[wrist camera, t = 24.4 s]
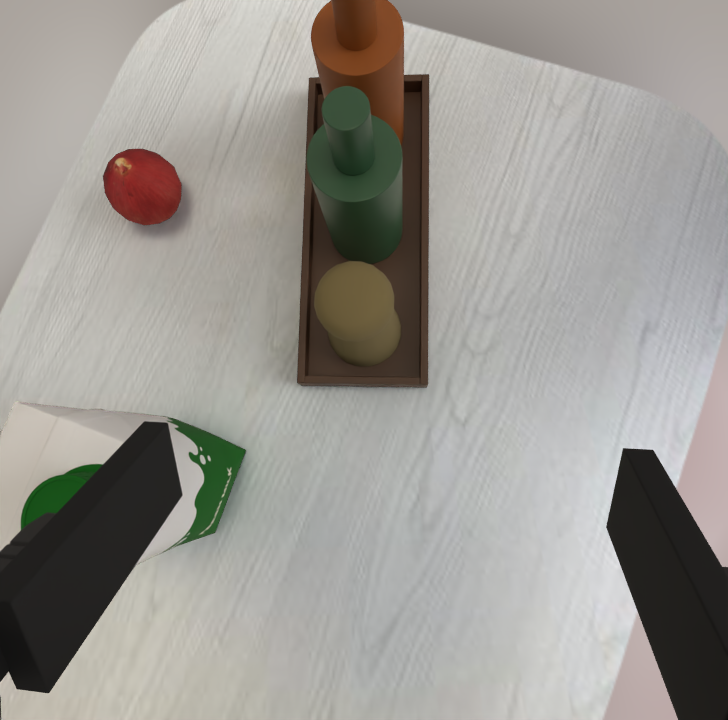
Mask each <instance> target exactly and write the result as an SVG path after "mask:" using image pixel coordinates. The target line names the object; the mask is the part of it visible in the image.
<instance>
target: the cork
mask: <svg viewBox="0 0 728 720" xmlns="http://www.w3.org/2000/svg"><path fill="white" fill-rule="evenodd" d="M314 307H315V311H316V314H317V318H318V319H319V321H320V322H321V324H322V325H323V327H324V328H325V329H326V330H327V331H328V337H329V341H330V345H331V347H332V348H333V350H334V351H335V353H336V354H337V356H339V357H340V358H341V359H342V360H344V361H345V362H346V363H349V364H352V365H355V366H362V367H369V366H373V365H377V364H380V363H381V362H383V361H385V360H386V359H388V358H389V357H390V356H391V355H392V354H393V352H394V351H395V350H396V348H397V346H398V344H399V341H400V338H401V323H400V319H399V316H398V314H397V312H396V311H395V309H394V293H393V289H392V286H391V283H390V282H389V280H388V279H387V277H386V276H385V274H384V273H382V272H381V271H380V270H378V269H377V268H376V267H374V266H373V265H370V264H368V263H365V262H362V261H348V262H344V263H341V264H337V265H336V266H334V267H333V268H331V269H330V270H328V271H327V272H326V273H325V275H324V276H323V277H322V278H321V280H320V281H319V284H318V286H317V289H316V291H315V300H314Z"/></svg>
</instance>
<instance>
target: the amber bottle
mask: <svg viewBox="0 0 728 720" xmlns="http://www.w3.org/2000/svg"><path fill="white" fill-rule="evenodd" d="M311 42H312V47H313V52H314V56H315V60H316V65H317V69H318V73H319V78H320V82H321V87H322V91H323V95H324V99H325V97H326V96H327V95H328V94H329V93H330V92H331V91H332V90H334V89H336V88H339V87H342V86H352V87H355V88H358V89H360V90H361V91H362V92H363V93H364V94H365V95H366V96H367V98H368V100H369V102H370V110H371V115H373V116H376V117H378V118H380V119H382V120H383V121H385V122H386V123H387V124H388V125H389V126H390V127H391V128H392V129H393V130H394V132H395V133H396V135H397V136H398V138H399V141H400V144H401V145H402V142H403V129H404V27H403V22H402V19H401V16H400V14H399V13H398V11H397V10H396V8H395V7H394V6H393V5H392V4H391V3H390V2H389V1H388V0H331V1H330V2H329V3H327V4H326V5H325V6H324V7H323V8H322V9H321V11H320V12H319V13H318V15H317V16H316V18H315V21H314V23H313V26H312V31H311Z"/></svg>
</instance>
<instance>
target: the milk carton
mask: <svg viewBox="0 0 728 720" xmlns="http://www.w3.org/2000/svg"><path fill="white" fill-rule="evenodd" d="M144 421H149V422H166V423H168V426H169V431H170V435H171V440H172V445H173V450H174V455H175V460H176V465H177V470H178V474H179V479H180V484H181V489H182V494H183V496H182V497H181V499H180V500H179V501H178V503H177V504H176V506H175V507H174V509H173V510H172V512H171V513H170V515H169V516H168V518H167V519H166V521H165V522H164V524H163V525H162V527H161V528H160V530H159V531H158V533H157V534H156V535H155V537H154V538H153V540H152V541H151V543H150V544H149V546H148V547H147V549H146V550H145V552H144V553H143V555H142V556H141V558H140V559H139V561H138V562H137V564H140V563H142V562H144V561H146V560H148V559H150V558H152V557H154V556H157V555H159V554H161V553H163V552H165V551H167V550H169V549H172V548H174V547H176V546H178V545H181V544H184V543H187V542H190V541H193V540H195V539H198V538H201V537H204V536H207V535H210V534H213V533H215V531H216V529H217V526H218V523H219V521H220V518H221V515H222V513H223V510H224V508H225V505H226V502H227V500H228V497H229V494H230V492H231V489H232V486H233V484H234V481H235V478H236V476H237V473H238V470H239V468H240V465H241V462H242V460H243V457H244V455H245V452H246V450H245V449H243V448H240V447H238V446H236V445H234V444H232V443H230V442H228V441H226V440H223V439H221V438H219V437H217V436H215V435H213V434H211V433H208V432H206V431H204V430H201V429H199V428H196V427H194V426H191V425H189V424H186V423H184V422H181V421H179V420H176V419H173V418H169V417H164V416H155V415H146V414H136V413H126V412H117V411H106V410H103V409H90V410H86V409H77V408H68V407H59V406H50V405H41V404H32V403H24V402H17V401H15V403H14V405H13V407H12V409H11V411H10V414H9V416H8V418H7V421H6V423H5V425H4V428H3V430H2V432H1V435H0V551H1V550H2V549H3V548H4V547H5V546H6V545H7V544H10V541H11V540H12V539H13V538H14V537H15V536H16V535H17V534H18V533H19V532H20V531H21V530H22V529H23V528H24V527H25V526H26V525H27V524H29V523H31V522H32V521H34V520H35V519H37V518H39V517H40V516H42V515H43V514H45V513H47V512H49V513H57V512H58V511H59V510H60V509H61V508H62V507H63V506H64V505H65V504H66V503H67V502H68V501H69V500H70V499H71V498H72V496H73V495H74V494H75V493H76V492H77V491H78V490H79V489H80V488H81V487H82V486H83V485H84V484H85V483H86V482H87V481H88V480H89V479H90V478H91V477H92V476H93V474H94V473H95V472H96V471H97V470H98V469H99V468H100V467H101V466H102V465H103V464H104V463H105V462H106V461H107V460H108V459H109V458H110V457H111V456H112V455H113V454H114V452H115V451H116V450H117V449H118V448H119V447H120V446H121V445H122V444H123V443H124V442H125V441H126V440H127V439H128V438H129V437H130V436H131V435H132V434H133V433H134V432H135V430H136V429H137V428H138V427H139V426H140V425H141V424H142V423H143V422H144ZM137 564H136V565H137ZM136 565H135V566H136Z"/></svg>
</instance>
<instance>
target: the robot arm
mask: <svg viewBox="0 0 728 720" xmlns="http://www.w3.org/2000/svg"><path fill="white" fill-rule="evenodd" d="M182 496H183V494H182V489H181V484H180V479H179V474H178V470H177V465H176V460H175V455H174V450H173V445H172V440H171V435H170V431H169V426H168V423H166V422H149V421H144V422H143V423H142V424H141V425H140V426H139V427H138V428H137V429H136V430H135V432H134V433H133V434H132V435H131V436H130V437H129V438H128V439H127V440H126V441H125V442H124V443H123V444H122V445H121V446H120V447H119V448H118V449H117V450H116V451H115V452H114V454H113V455H112V456H111V457H110V458H109V459H108V460H107V461H106V462H105V463H104V464H103V465H102V466H101V467H100V468H99V469H98V470H97V471H96V472H95V473H94V474H93V476H92V477H91V478H90V479H89V480H88V481H87V482H86V483H85V484H84V485H83V486H82V487H81V488H80V489H79V490H78V491H77V492H76V493H75V494H74V495H73V496H72V498H71V499H70V500H69V501H68V502H67V503H66V504H65V505H64V506H63V507H62V508H61V509H60V510H59V511H58V512H57V513H49V512H47V513H45V514H43V515H42V516H40V517H39V518H37V519H35V520H34V521H32V522H31V523H29V524H27V525H26V526H25V527H24V528H23V529H22V530H21V531H20V532H19V533H18V534H17V535H16V536H15V537H14V538H13V539H12V540H11V541H10V544H7V545H6V546H5V547H4V548H3V549H2V550H1V551H0V682H1V680H2V679H3V678H4V677H5V675H6V674H7V673H8V671H9V673H10V675H11V677H12V680H13V682H14V684H15V686H16V688H17V689H20V690H28V691H35V692H43V693H49V692H50V691H51V689H52V688H53V686H54V685H55V683H56V682H57V680H58V679H59V677H60V676H61V675H62V673H63V672H64V670H65V669H66V667H67V666H68V664H69V663H70V661H71V660H72V658H73V657H74V655H75V654H76V652H77V651H78V649H79V648H80V646H81V645H82V643H83V642H84V640H85V639H86V638H87V636H88V635H89V633H90V632H91V630H92V629H93V627H94V626H95V624H96V623H97V621H98V620H99V618H100V617H101V615H102V614H103V612H104V611H105V609H106V608H107V606H108V605H109V604H110V602H111V601H112V599H113V598H114V596H115V595H116V593H117V592H118V590H119V589H120V587H121V586H122V584H123V583H124V581H125V580H126V578H127V577H128V575H129V574H130V572H131V571H132V570H133V568H134V567H135V565H136V564H137V562H138V561H139V559H140V558H141V556H142V555H143V553H144V552H145V550H146V549H147V547H148V546H149V544H150V543H151V541H152V540H153V538H154V537H155V535H156V534H157V533H158V531H159V530H160V528H161V527H162V525H163V524H164V522H165V521H166V519H167V518H168V516H169V515H170V513H171V512H172V510H173V509H174V507H175V506H176V504H177V503H178V501H179V500H180V499H181V497H182ZM606 528H607V530H608V533H609V536H610V538H611V541H612V544H613V546H614V549H615V552H616V554H617V557H618V560H619V562H620V565H621V568H622V570H623V573H624V576H625V578H626V581H627V584H628V586H629V589H630V592H631V594H632V597H633V600H634V603H635V605H636V608H637V611H638V613H639V616H640V619H641V621H642V624H643V627H644V629H645V632H646V634H647V637H648V640H649V643H650V645H651V648H652V651H653V653H654V656H655V659H656V661H657V664H658V667H659V669H660V672H661V675H662V678H663V680H664V683H665V686H666V688H667V691H668V694H669V696H670V699H671V702H672V704H673V707H674V709H675V712H676V715H677V718H678V720H728V567H722V566H721V564H720V562H719V561H718V559H717V558H716V556H715V554H714V552H713V551H712V549H711V547H710V545H709V544H708V542H707V540H706V539H705V537H704V535H703V534H702V532H701V530H700V529H699V527H698V526H697V524H696V522H695V520H694V519H693V517H692V515H691V513H690V512H689V510H688V508H687V507H686V505H685V503H684V502H683V500H682V498H681V496H680V495H679V493H678V492H677V490H676V488H675V486H674V485H673V483H672V481H671V479H670V478H669V476H668V474H667V473H666V471H665V469H664V468H663V466H662V464H661V463H660V461H659V459H658V457H657V456H656V454H655V452H654V451H653V450H643V449H626V448H623V451H622V456H621V461H620V466H619V470H618V475H617V480H616V484H615V489H614V494H613V498H612V503H611V508H610V512H609V517H608V522H607V526H606ZM0 720H1V697H0Z"/></svg>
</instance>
